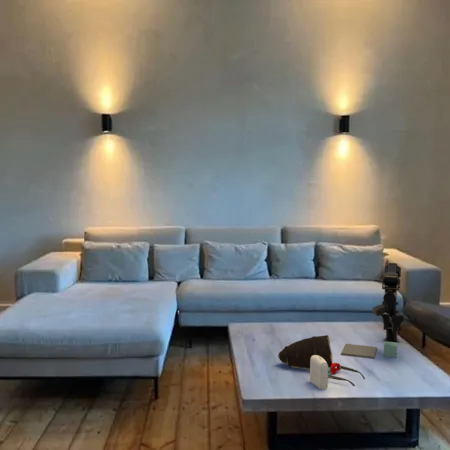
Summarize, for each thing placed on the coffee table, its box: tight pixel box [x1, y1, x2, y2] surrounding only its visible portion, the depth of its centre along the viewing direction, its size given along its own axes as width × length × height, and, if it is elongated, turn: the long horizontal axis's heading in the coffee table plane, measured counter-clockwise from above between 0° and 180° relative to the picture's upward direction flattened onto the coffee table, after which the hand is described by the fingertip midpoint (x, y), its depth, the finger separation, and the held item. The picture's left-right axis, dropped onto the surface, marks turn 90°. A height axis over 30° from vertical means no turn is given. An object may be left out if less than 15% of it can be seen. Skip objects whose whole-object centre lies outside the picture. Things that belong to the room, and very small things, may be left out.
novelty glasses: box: [328, 362, 366, 387], centre depth 227 cm, size 14×15×5 cm
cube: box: [383, 340, 398, 359], centre depth 258 cm, size 6×6×6 cm
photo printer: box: [309, 355, 329, 390], centre depth 220 cm, size 10×4×12 cm, turn 17°
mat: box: [340, 343, 378, 360], centre depth 263 cm, size 16×16×1 cm
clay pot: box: [277, 334, 334, 371], centre depth 242 cm, size 15×15×25 cm
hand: (389, 330), depth 256 cm, fingers open, 9 cm apart
